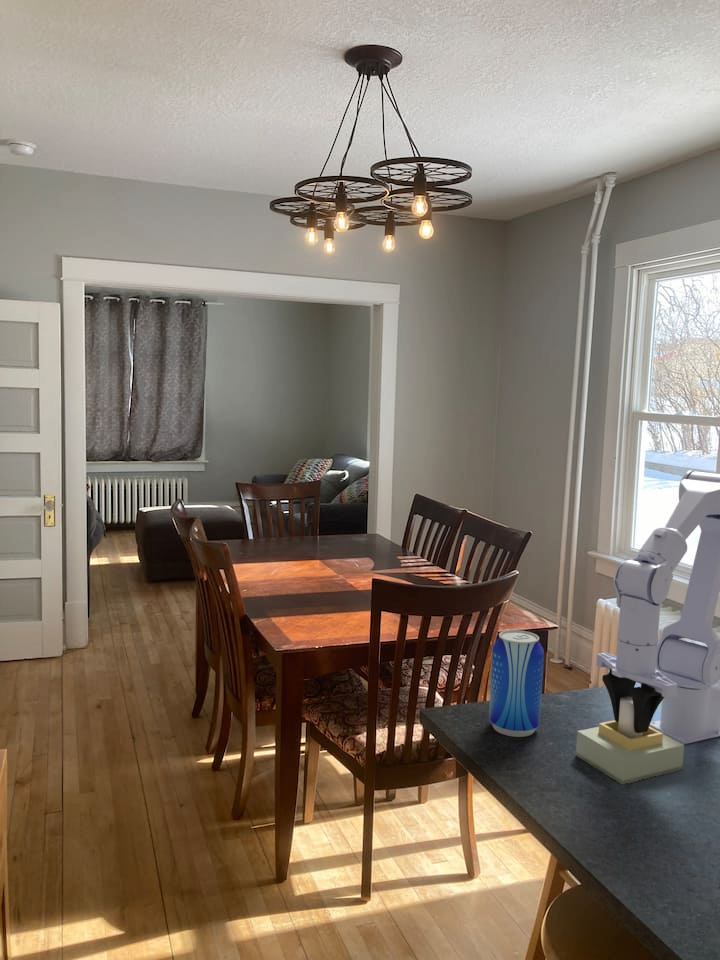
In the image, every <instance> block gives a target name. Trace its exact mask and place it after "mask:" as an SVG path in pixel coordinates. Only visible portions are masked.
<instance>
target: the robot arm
mask: <svg viewBox="0 0 720 960" xmlns="http://www.w3.org/2000/svg"><path fill="white" fill-rule="evenodd" d="M667 521H668V522H667V523H666V524H665V526H664V527H658V528H656V529H654V530H653V531H652V533H651V534H650V535H649V537H648V538H647V539H646V541H645V542H644V544H642V546H641V547H640V549H639V551H638V552H637V553H636V555H635V556H634V558H633V559H629V560H626V561H624V562H622V563H620V564H619V566H618V567H617V569H616V572H615V575H614V579H613V588H614V592H615V595H616V604H615V605H616V606H617V608H619V612H618V613H619V614H618V617H619V618H618V630H617V643H616V655H614V654H611V653H610V652H609V653H608V652H602V653H597V654H596V666H597V667H598V668H606V669H607V670H609V672H608V673H607V674H603V675H602V679H601V680H602V682H603V683H604V686H605V688H606V690H607V692H608V695H609V699H610V702H611V703H610V704H611V706H612V713H613V717H614V720H615V721H616V722H619V710H620V699H621V698H622V697H632V700H633V706H634V731H635V732H636V733H642V732H647V731H648V728H649V727H651V728H653V729H655V730H657V731H659V732H661V733H663V734H665V735H666V736H668V737H670V738H672V739H674V740H676V741H678V742H680V743H682V744H684V745H687V744H692V743H695V742H699V741H704V740H709V739H713V738H717V737H720V685H719V684H718V683H719V681H720V636H719V634H718V633H717V632H716V631H715V629H714V628H713V627H712V625H713V621H714V618H715V617H714V616H715V614H716V609H717V605H718V600H719V595H720V473H713V472H703V471H696V470H694V469H693V470H692V469H691V470H690V469H689V470H688V471H687V472H685V474H684V475H682V477H681V480H680V483H679V486H678V503H677V505H676V507H675V509H673V512H672V514H671V516H670V517H669V519H668V520H667ZM698 526H699V528H700V535H699V540H698V544H697V547H696V552H695V557H694V560H693V564H692V568H691V573H690V576H689V582H688V585H687V588H686V589H687V590H686V593H685V597H684V602H683V606H682V611H681V614H680V619H678V620H676V621H675V622H673V623H670V624H668V625H666V626H664V627H663V629H662V632H661V634H660V638H659V628H660V618H661V617H660V616H661V605H662V603H663V602H664V601H665V600H666V599H667V597H668V594H669V593H670V592H669V591H670V587H671V584H672V581H673V578H674V575H673V572H674V571H675V569H676V568H677V566H678V565H679V563H680V562H681V560H682V559H683V557H684V556H685V555H686V554H687V551H688V543H687V539H688V538H689V536H691V534H692V533H693V532H694V531H695V530H696V528H697V527H698ZM683 639H688V640H691V641H695V642H699V643H703V644H705V645H701V644H698V643H695V642H694V643H693V642H691V641H688V640H687V641H686V640H683ZM636 683H637V684H640V686H636ZM635 686H636V687H635ZM660 704H661V705H660ZM659 705H660V706H661V708H660V709H661V710H660V720H655V721H652V720H653V718H654V715H655V713H656V711H657V709H658V707H659Z"/></svg>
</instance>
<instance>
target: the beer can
mask: <svg viewBox="0 0 720 960" xmlns="http://www.w3.org/2000/svg"><path fill="white" fill-rule="evenodd" d="M544 651H545V650H544V648H543V647H542V644H541V642H540V637H539V635H537V634H536V633H533V632H530V631H526V630H521V629H520V630H519V629H507V630H503V631H500V632H499V634H498V637H497V639H496V641H495V642H494V643H493V646H492V653H491V673H490V687H489V688H490V692H489V707H488V721H489V723H491V725H492V727H493V729H494V730H495V731H496V732H497V733H499V734H501V735H505V736H507V737H513V738H515V737H517V738H523V737H529V736H531V735H533V734H534V733H535V731H536V730H537V729H538V728H539V727H540V724H541V707H542V691H543V678H544V677H543V674H544V661H545V660H544V659H545V652H544Z"/></svg>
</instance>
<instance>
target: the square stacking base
mask: <svg viewBox="0 0 720 960" xmlns="http://www.w3.org/2000/svg"><path fill="white" fill-rule="evenodd" d="M618 723H619V722H616V721H615V719H614V720H608V721H603V722H600V723H598V726H596V727H591V728H587V729H586V728H585V729H580V730H577V733H576V749H575V757H577V758H579V759H581V760H582V761H584V762H585V763H586V764H587V763H588V765H590V766H592V767H593V768H595V769H596V770H597V771H598V770H599V771H600V772H601V773H603V774H604V775H605V776H608V777H609V778H611V779H612V778H613V779H612V780H614V781H615V780H616V782H617V783H619V784H620V785H622V786H623V784H624V785H627V784H626V783H628V784H631V782H632V783H635V781H636V782H639V780H640V781H643V780H642V779H644V780H647V778H648V779H651V778H650V777H652V778H655V777H654V776H656V777H659V775H660V776H662V775H663V774H664V775H667V773H668V774H671V773H676V772H679V771H682V770H683V763H684V761H683V760H684V752H685V751H684V750H685V744H683V743H681V742H679V741H677V740H675V739H673V738H671V737H669V736H667V735H665V734H663V733H662V732H660V731H658V730H656V729H654V728H652V727H650V726H649V728H648V731H647V732H643V736H642V737H637V738H633V739H630V738H628V737H626V736H624V735H622V734H621V733H619V732H618Z"/></svg>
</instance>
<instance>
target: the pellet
mask: <svg viewBox="0 0 720 960" xmlns="http://www.w3.org/2000/svg"><path fill="white" fill-rule="evenodd" d="M618 732H619V733H621V734H622V735H624V736H626V737H628V738H630V739H633V738H637V737H642V736H643V732H642V733H636V732H635V731H634V706H633V700H632V697H622V698H621V699H620V710H619V723H618Z"/></svg>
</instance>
